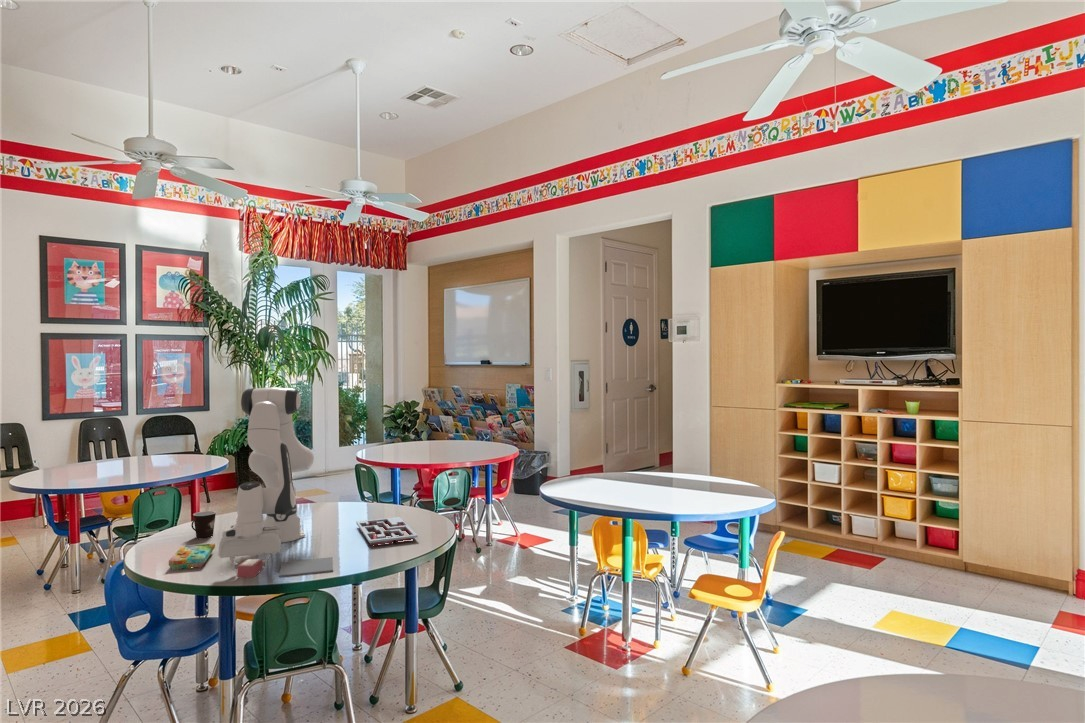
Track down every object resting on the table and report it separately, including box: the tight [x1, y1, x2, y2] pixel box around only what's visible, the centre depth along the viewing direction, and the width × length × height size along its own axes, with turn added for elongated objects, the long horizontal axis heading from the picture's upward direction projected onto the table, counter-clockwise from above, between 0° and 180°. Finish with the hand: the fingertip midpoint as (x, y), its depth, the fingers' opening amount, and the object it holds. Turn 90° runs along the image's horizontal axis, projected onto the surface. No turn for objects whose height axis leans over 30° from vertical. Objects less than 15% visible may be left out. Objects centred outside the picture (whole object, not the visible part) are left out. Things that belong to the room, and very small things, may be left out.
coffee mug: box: [190, 510, 217, 539], centre depth 277 cm, size 12×9×10 cm
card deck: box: [236, 558, 264, 578], centre depth 231 cm, size 9×6×4 cm, turn 4°
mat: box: [278, 556, 334, 578], centre depth 237 cm, size 16×18×1 cm
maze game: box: [355, 516, 418, 547], centre depth 281 cm, size 35×20×3 cm, turn 25°
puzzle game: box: [168, 543, 216, 570], centre depth 244 cm, size 12×5×20 cm
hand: (250, 567), depth 230 cm, fingers open, 8 cm apart
